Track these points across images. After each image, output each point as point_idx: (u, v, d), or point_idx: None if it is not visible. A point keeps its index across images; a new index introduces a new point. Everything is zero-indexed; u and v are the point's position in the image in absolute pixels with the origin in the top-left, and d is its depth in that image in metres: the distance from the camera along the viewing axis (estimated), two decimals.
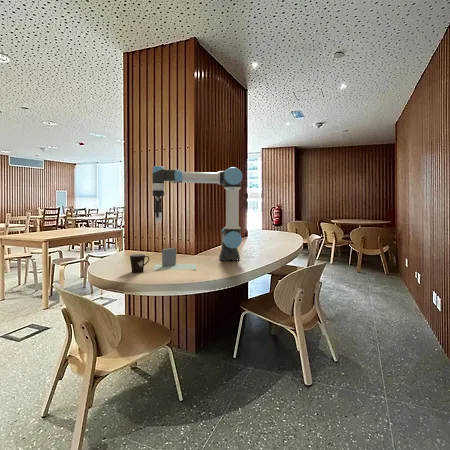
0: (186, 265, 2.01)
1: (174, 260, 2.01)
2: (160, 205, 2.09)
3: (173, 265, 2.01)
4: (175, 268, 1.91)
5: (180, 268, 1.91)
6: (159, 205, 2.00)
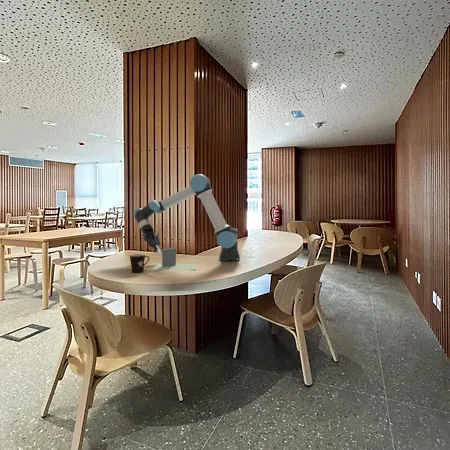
0: (186, 265, 2.01)
1: (174, 260, 2.01)
2: (153, 238, 2.12)
3: (173, 265, 2.01)
4: (175, 268, 1.91)
5: (180, 268, 1.91)
6: (151, 239, 2.09)
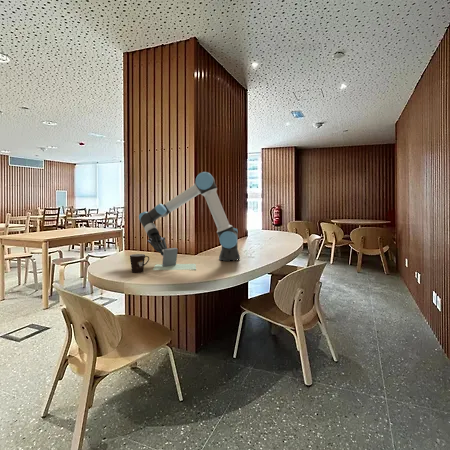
0: (186, 265, 2.01)
1: (175, 260, 2.01)
2: (159, 242, 2.06)
3: (173, 265, 2.01)
4: (175, 268, 1.91)
5: (180, 268, 1.91)
6: (157, 243, 2.04)
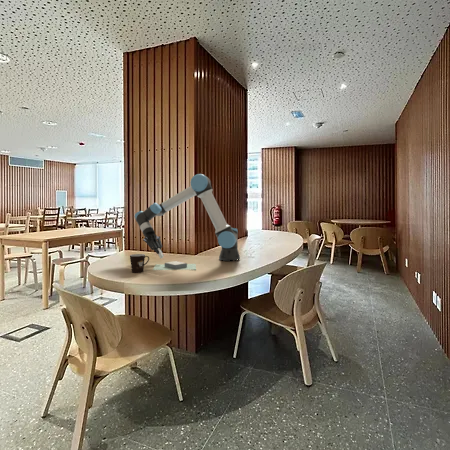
0: None
1: None
2: (155, 241, 2.10)
3: None
4: None
5: None
6: (152, 242, 2.08)
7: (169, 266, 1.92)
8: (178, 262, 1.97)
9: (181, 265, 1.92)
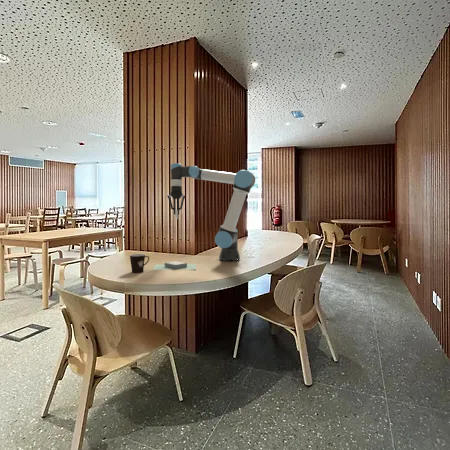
0: None
1: None
2: (177, 201, 2.19)
3: None
4: None
5: None
6: None
7: (169, 266, 1.92)
8: (178, 262, 1.97)
9: (181, 265, 1.92)
